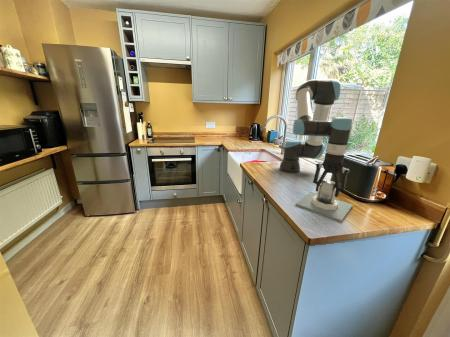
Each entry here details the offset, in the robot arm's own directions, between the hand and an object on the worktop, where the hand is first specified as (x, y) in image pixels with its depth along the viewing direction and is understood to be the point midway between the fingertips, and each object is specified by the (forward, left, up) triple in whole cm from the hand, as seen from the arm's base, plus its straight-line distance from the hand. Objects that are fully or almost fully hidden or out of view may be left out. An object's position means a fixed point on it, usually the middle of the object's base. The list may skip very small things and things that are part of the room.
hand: (325, 199), depth 91 cm
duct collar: (0, 0, -1) cm, 1 cm away
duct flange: (0, 0, -3) cm, 3 cm away
